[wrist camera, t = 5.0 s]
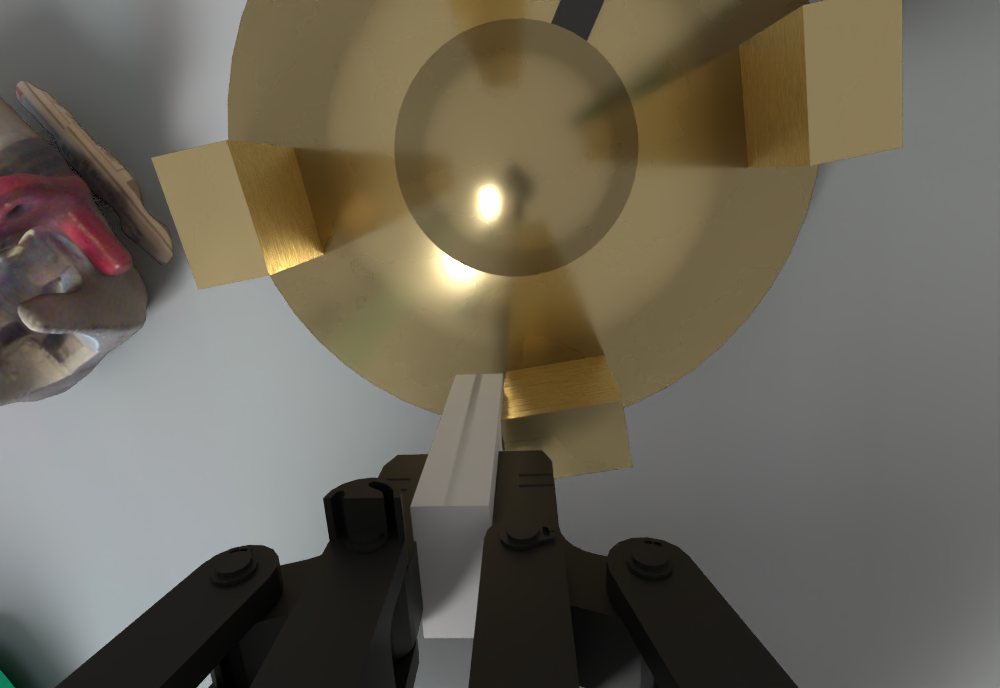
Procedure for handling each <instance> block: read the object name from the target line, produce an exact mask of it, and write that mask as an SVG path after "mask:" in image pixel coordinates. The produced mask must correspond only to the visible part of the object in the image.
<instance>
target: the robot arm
mask: <svg viewBox="0 0 1000 688" xmlns="http://www.w3.org/2000/svg"><path fill="white" fill-rule="evenodd" d="M503 391H504V387H503V373H499V374H464V375H456V376H455V379H454V382H453V385H452V387H451V390H450V393H449V396H448V399H447V402H446V405H445V408H444V411H443V413H442V416H441V419H440V422H439V425H438V428H437V431H436V434H435V437H434V439H433V442H432V445H431V448H430V451H429V454H420V455H397V456H396V457H395V458H393V459H392V460H391V461H390V462H388V463H387V464H386V465H385V466H384V467H383V469H382V471H381V473H380V475H379V477H378V478H366V479H357V480H354V481H351V482H348V483H344V484H342V485H340V486H338V487H337V488H335V489H333V490H331V491H330V492H329V493H328V494H327V495H326V496H325V497H324V498H323V501H324V507H325V514H326V520H327V527H328V533H329V540H330V541H329V543H328V545H327V547H326V548H325V550H324V552H323V554H322V555H320V556H317V557H314V558H311V559H307V560H303V561H299V562H294V563H290V564H285V565H281V566H280V563H279V557H278V555H277V554H276V553H275V551H274V550H273V549H271V548H268V547H266V546H263V545H247V546H241V547H236V548H232V549H229V550H227V551H225V552H223V553H220V554H218V555H216V556H214V557H213V558H211V559H210V560H208V561H206V562H205V563H203V564H202V565H201V566H200V567H198V568H197V569H196V570H195V571H194V572H192V573H191V574H190V575H189V576H188V577H186V578H185V579H184V580H183V581H182V582H180V583H179V584H178V585H177V586H176V587H174V588H173V589H172V590H171V591H170V592H169V593H167V594H166V595H165V596H164V597H163V598H161V599H160V600H159V601H158V602H157V603H155V604H154V605H153V606H152V607H151V608H149V609H148V610H147V611H146V612H145V613H143V614H142V615H141V616H140V617H139V618H137V619H136V620H135V621H134V622H133V623H131V624H130V625H129V626H128V627H127V628H125V629H124V630H123V631H122V632H121V633H120V634H118V635H117V636H116V637H115V638H114V639H112V640H111V641H110V642H109V643H108V644H106V645H105V646H104V647H103V648H102V649H100V650H99V651H98V652H97V653H96V654H94V655H93V656H92V657H91V658H90V659H88V660H87V661H86V662H85V663H84V664H82V665H81V666H80V667H79V668H78V669H76V670H75V671H74V672H73V673H72V674H71V675H69V676H68V677H67V678H66V679H65V680H63V681H62V682H61V683H60V684H59V685H57V686H56V687H55V688H197V687H198V685H199V684H200V683H201V682H202V681H203V680H204V679H205V678H206V677H207V676H208V675H209V674H211V678H212V682H213V683H212V684H211V685H210V686H209V688H413V687H414V682H415V678H416V673H417V669H418V664H419V651H418V641H417V634H418V630H419V626H420V621H421V617H422V625H423V634H424V638H474V640H473V650H472V660H471V670H470V680H469V688H579V686H581V687H584V688H798V686H797V685H796V684H795V683H794V682H793V680H792V679H791V678H790V677H789V676H788V674H787V673H786V672H785V671H784V670H783V668H782V667H781V666H780V665H779V664H778V662H777V661H776V660H775V659H774V658H773V656H772V655H771V654H770V653H769V652H768V650H767V649H766V648H765V647H764V646H763V644H762V643H761V642H760V641H759V640H758V638H757V637H756V636H755V635H754V634H753V632H752V631H751V630H750V629H749V628H748V626H747V625H746V624H745V623H744V622H743V620H742V619H741V618H740V617H739V616H738V614H737V613H736V612H735V611H734V610H733V608H732V607H731V606H730V605H729V604H728V602H727V601H726V600H725V599H724V598H723V596H722V595H721V594H720V593H719V592H718V590H717V589H716V588H715V587H714V586H713V584H712V583H711V582H710V581H709V580H708V578H707V577H706V576H705V575H704V574H703V572H702V571H701V570H700V569H699V568H698V566H697V565H696V564H695V563H694V562H693V560H692V559H691V558H690V557H689V556H688V555H687V554H686V553H685V552H683V551H682V550H681V549H680V548H679V547H677V546H675V545H673V544H670V543H668V542H666V541H664V540H658V539H653V538H648V537H645V538H631V539H628V540H625V541H622V542H619V543H618V544H616V545H615V546H614V547H613V548H612V549H610V551H609V554H608V557H606V556H602V555H597V554H593V553H590V552H586V551H583V550H581V549H579V548H577V547H575V546H573V545H572V544H571V543H569V542H568V541H567V540H566V539H565V538H564V537H563V535H562V534H561V532H560V529H559V524H558V514H557V504H556V494H555V485H554V476H553V465H552V460H551V459H550V458H549V457H548V456H547V455H546V454H545V453H544V452H543V451H542V450H529V451H506V450H505V445H504V441H503V436H502V432H501V412H502V402H503Z"/></svg>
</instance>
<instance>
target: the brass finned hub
mask: <svg viewBox="0 0 1000 688" xmlns="http://www.w3.org/2000/svg"><path fill="white" fill-rule="evenodd" d="M228 137H229V140H225V141H221V142H216V143H212V144H208V145H203V146H199V147H195V148H191V149H186V150H182V151H178V152H173V153H169V154H165V155H161V156H156V157H152V158H151V159H152V162H153V165H154V168H155V171H156V173H157V176H158V179H159V182H160V185H161V187H162V190H163V193H164V196H165V198H166V201H167V204H168V207H169V210H170V212H171V215H172V218H173V221H174V224H175V226H176V229H177V232H178V235H179V237H180V240H181V243H182V246H183V249H184V251H185V254H186V257H187V260H188V263H189V265H190V268H191V271H192V274H193V277H194V279H195V282H196V285H197V288H198V290H199V289H204V288H209V287H214V286H219V285H224V284H229V283H234V282H239V281H244V280H249V279H254V278H258V277H263V276H268V275H270V276H271V278H272V280H273V282H274V284H275V286H276V287H277V288H278V290H279V291H280V293H281V294H282V296H283V297H284V299H285V300H286V301H287V303H288V304H289V306H290V307H291V309H292V310H293V312H294V313H295V315H296V316H297V317H298V318H299V319H300V320H301V321H302V322H303V324H304V325H305V326H306V327H307V328H308V329H309V330H310V332H311V333H312V334H313V335H314V336H315V337H316V338H317V340H318V341H319V342H320V343H322V344H323V345H324V346H325V347H326V348H327V349H328V350H329V351H330V352H332V353H333V354H334V355H335V356H336V357H337V358H338V359H339V360H340V361H342V362H343V363H344V364H345V365H346V366H348V367H349V368H351V369H352V370H353V371H355V372H356V373H358V374H359V375H360V376H362V377H363V378H365V379H366V380H368V381H369V382H370V383H372V384H373V385H375V386H377V387H379V388H381V389H383V390H384V391H386V392H388V393H390V394H392V395H394V396H395V397H397V398H399V399H401V400H403V401H405V402H408V403H410V404H413V405H415V406H418V407H420V408H423V409H425V410H428V411H430V412H433V413H436V414H440V415H442V413H443V411H444V408H445V405H446V402H447V399H448V396H449V393H450V390H451V387H452V385H453V382H454V379H455V376H456V375H464V374H499V373H503V387H504V391H503V402H502V412H501V432H502V436H503V441H504V445H505V450H506V451H529V450H542V451H543V452H544V453H545V454H546V455H547V456H548V457H549V458H550V459H551V460H552V465H553V476H554V479H555V478H561V477H568V476H575V475H582V474H588V473H595V472H602V471H608V470H615V469H622V468H629V467H632V460H631V454H630V447H629V441H628V434H627V427H626V421H625V414H624V407H627V406H629V405H632V404H634V403H636V402H638V401H640V400H642V399H644V398H646V397H648V396H650V395H652V394H654V393H657V392H659V391H661V390H663V389H664V388H666V387H667V386H669V385H671V384H672V383H674V382H675V381H677V380H678V379H680V378H681V377H683V376H684V375H686V374H687V373H689V372H691V371H692V370H694V369H695V368H696V367H697V366H698V365H700V364H701V363H702V362H703V361H704V360H706V359H707V358H708V357H709V356H710V355H712V354H713V353H714V352H715V351H716V350H718V349H719V348H720V347H721V346H722V345H723V344H724V343H725V342H726V341H727V340H728V339H729V338H730V337H731V336H732V335H733V334H734V332H735V331H736V330H737V329H738V328H739V327H740V326H741V325H742V324H743V323H744V322H745V321H746V320H747V319H748V317H749V316H750V315H751V313H752V312H753V311H754V309H755V308H756V307H757V305H758V304H759V303H760V301H761V300H762V298H763V297H764V296H765V294H766V293H767V292H768V290H769V289H770V288H771V286H772V284H773V282H774V281H775V279H776V277H777V275H778V274H779V272H780V270H781V268H782V267H783V265H784V263H785V261H786V260H787V258H788V256H789V254H790V252H791V250H792V247H793V245H794V243H795V240H796V238H797V236H798V233H799V231H800V228H801V226H802V224H803V221H804V219H805V217H806V213H807V210H808V206H809V203H810V199H811V195H812V192H813V188H814V185H815V181H816V178H817V173H818V166H819V164H822V163H827V162H832V161H837V160H842V159H847V158H852V157H857V156H862V155H867V154H872V153H877V152H882V151H887V150H891V149H896V148H901V147H903V112H902V0H823V1H819V2H815V3H811V4H809V1H808V0H248V1H247V3H246V6H245V9H244V12H243V14H242V17H241V22H240V26H239V30H238V35H237V39H236V43H235V48H234V52H233V56H232V64H231V74H230V83H229V93H228Z"/></svg>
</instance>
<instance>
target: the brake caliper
mask: <svg viewBox="0 0 1000 688" xmlns="http://www.w3.org/2000/svg"><path fill="white" fill-rule="evenodd" d="M15 91H16V96H17V98H18V100H19V101H20V103H21V104H22V105H23V106H24V107H25V108H26V109H27V110H28V111H29V112H30V113H31V114H32V115H33V116H34V117H35V118H36V120H37V121H38V122H39V123H40V124H41V125H42V126H43V127H44V128H45V129H46V130H47V131H48V132H50V133H51V134H52V135H53V136H54V138H55V140H56V142H57V145H58V147H59V149H60V151H61V154H60V152H59V151H58V150H57V149H55V148H54V147H52V146H51V145H50V144H49V143H48V142H46V141H45V140H44V139H43V138H42V137H41V136H40V135H39V134H38V133H36V132H35V131H34V130H33V129H32V128H31V127H29V126H28V125H27V124H26V123H25V122H24V121H23V120H22V118H21V117H20V116H19V115H18V114H17V112H16V111H15V110H14V109H13V108H12V107H11V106H10V105H9V104H7V103H6V102H5V101H4V100H3V99H2V98H1V97H0V406H3V405H7V404H11V403H16V402H32V401H39V400H42V399H45V398H47V397H51V396H54V395H58V394H60V393H63V392H65V391H67V390H68V389H70V388H71V387H72V386H74V385H75V384H76V383H77V382H79V381H80V380H81V379H83V378H84V377H85V376H87V375H88V374H89V373H90V372H91V371H92V370H93V369H94V368H95V367H96V366H97V364H98V363H99V362H100V361H101V360H102V359H103V357H104V356H105V355H106V354H107V353H108V352H110V351H111V350H112V349H114V348H115V347H117V346H118V345H120V344H121V343H123V342H124V341H125V340H127V339H128V338H129V337H131V336H132V335H133V334H135V333H136V332H137V331H138V330H139V329H141V328H142V326H143V325H144V323H145V321H146V306H147V303H148V294H147V289H146V286H145V284H144V282H143V279H142V277H141V276H140V274H139V273H138V271H137V270H136V269H135V268H134V266H133V259H132V256H131V254H130V253H129V251H128V250H127V249H126V248H125V247H124V246H123V245H122V244H121V243H120V242H119V240H118V239H117V238H116V236H115V235H114V233H113V231H112V230H111V228H110V226H109V224H108V223H107V221H106V220H105V218H104V217H103V215H102V214H101V213H100V211H99V210H98V208H97V206H96V204H95V202H94V200H93V197H92V195H91V192H90V190H91V191H92V192H93V193H94V194H95V195H96V196H97V197H99V198H101V199H102V200H104V201H105V202H107V203H109V204H110V205H111V206H112V207H113V209H114V210H115V211H116V213H117V214H118V215H119V217H120V219H121V229H122V230H123V232H124V233H125V234H126V235H127V236H128V237H129V238H131V239H132V240H133V241H134V242H136V243H137V244H139V245H140V246H141V247H142V248H144V249H145V250H146V251H147V252H148V253H149V254H150V255H151V256H152V257H153V258H154V259H156V260H157V261H158V262H159V263H160V264H162V265H165V264H167V263H168V261H169V260H170V259H171V258H172V256H173V252H172V239H171V235H170V233H169V230H168V228H167V227H166V226H165V225H163V224H162V223H160V222H158V221H156V220H155V219H154V218H153V217H151V216H150V215H149V214H148V212H147V211H146V209H145V207H144V205H143V203H142V199H141V193H140V188H139V186H138V184H137V182H136V181H135V180H134V178H133V177H132V176H131V175H130V173H129V172H128V171H127V170H126V169H125V168H124V167H123V166H122V165H121V164H120V163H119V162H118V160H116V159H115V158H114V157H112V156H111V155H110V154H109V153H108V152H107V151H106V150H105V149H104V148H103V147H101V146H99V145H97V144H96V143H95V142H94V140H93V139H92V138H91V137H90V136H89V135H88V134H87V133H86V132H85V131H84V130H82V129H81V128H80V127H79V125H78V124H77V122H76V121H75V119H74V118H73V117H72V116H71V114H70V113H68V112H67V110H66V109H65V108H64V107H62V106H61V105H60V104H59V103H58V102H56V101H55V100H54V99H53V98H52V97H51V96H50V95H49V94H48V93H47V92H45V91H43V90H40V89H38V88H35V87H34V86H32V85H31V84H30V83H28V82H25V81H20V82H18V84H17V85H16V88H15ZM65 160H66V161H67V162H68V163H69V164H70V165H71V166H72V168H73V169H74V170H75V171H77V172H78V173H79V174H80V175H81V176H82V178H83V179H84V180H82V179H81V178H80V177H78V176H77V175H76V174H75V173H74V172H73V171H72V170H71V168H70V167H69V166H68V164H67V163H66V161H65Z"/></svg>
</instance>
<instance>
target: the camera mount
mask: <svg viewBox="0 0 1000 688" xmlns="http://www.w3.org/2000/svg"><path fill="white" fill-rule="evenodd" d="M0 688H15V687H14V686H13V685H12V684H11V682H10V681H9V680H8V679H7V677H6V676H5V675H4V674H3V673H2V671H1V670H0Z"/></svg>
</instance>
